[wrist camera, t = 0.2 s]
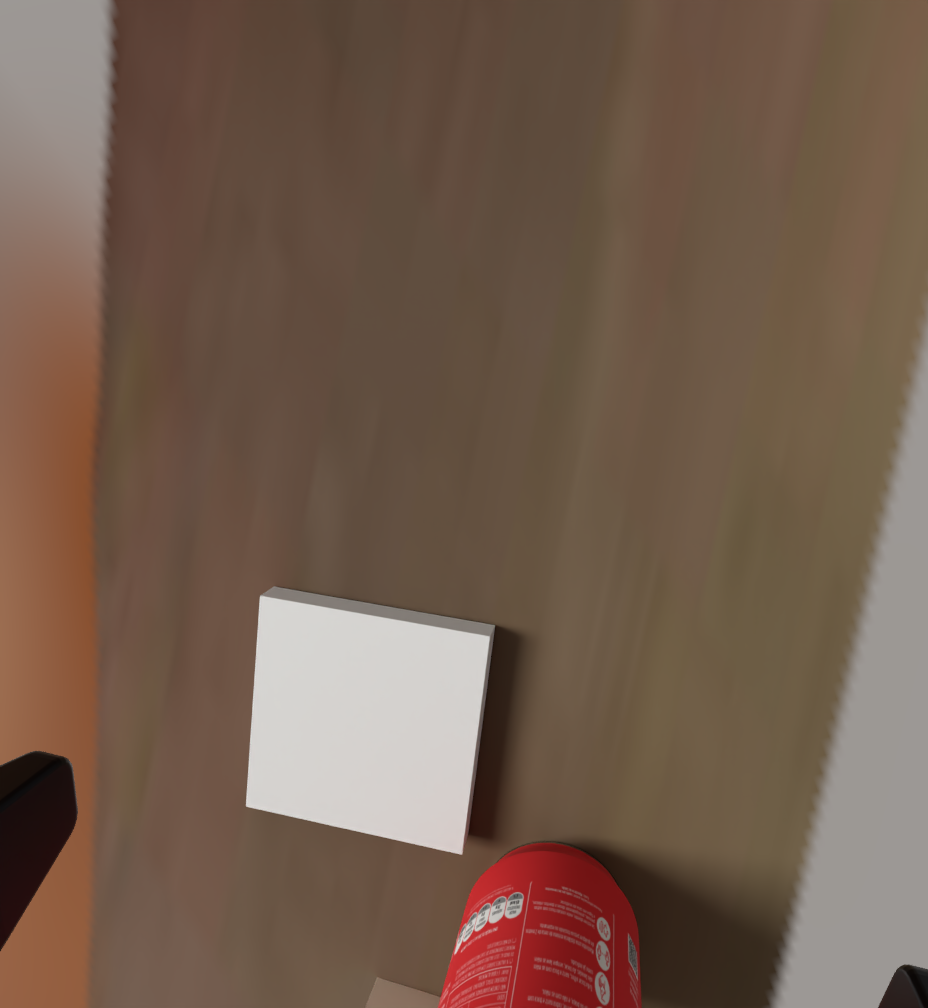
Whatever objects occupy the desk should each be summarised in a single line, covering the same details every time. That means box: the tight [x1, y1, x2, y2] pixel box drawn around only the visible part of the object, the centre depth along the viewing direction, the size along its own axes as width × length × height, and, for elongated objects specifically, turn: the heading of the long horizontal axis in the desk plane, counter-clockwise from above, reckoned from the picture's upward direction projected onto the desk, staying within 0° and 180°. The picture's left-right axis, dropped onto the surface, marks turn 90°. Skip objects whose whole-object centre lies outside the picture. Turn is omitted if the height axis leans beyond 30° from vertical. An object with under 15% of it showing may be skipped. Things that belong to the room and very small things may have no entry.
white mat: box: [246, 587, 495, 855], centre depth 24 cm, size 7×7×1 cm
